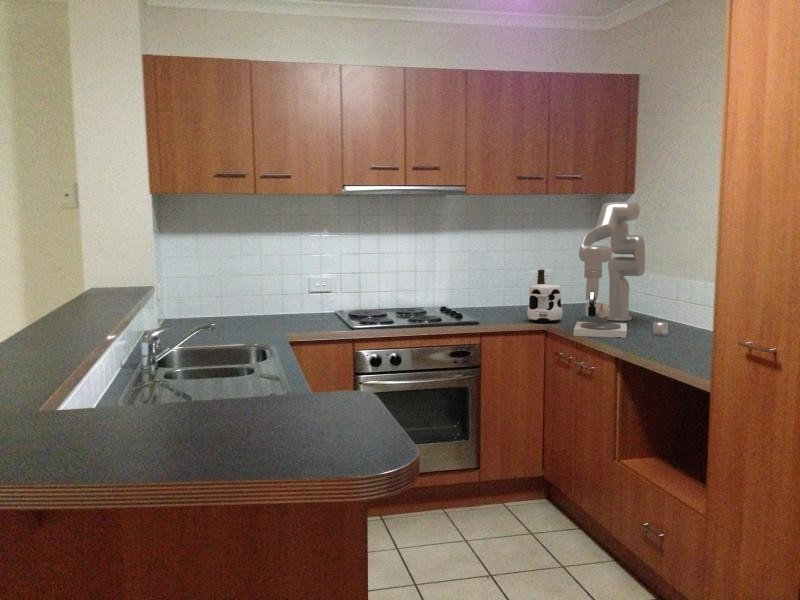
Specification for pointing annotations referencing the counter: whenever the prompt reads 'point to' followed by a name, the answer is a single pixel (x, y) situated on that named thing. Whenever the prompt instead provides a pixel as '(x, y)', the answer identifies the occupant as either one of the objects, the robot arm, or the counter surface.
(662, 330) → the cylinder
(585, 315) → the cylinder
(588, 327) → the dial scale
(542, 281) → the beer bottle
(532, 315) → the milk container
